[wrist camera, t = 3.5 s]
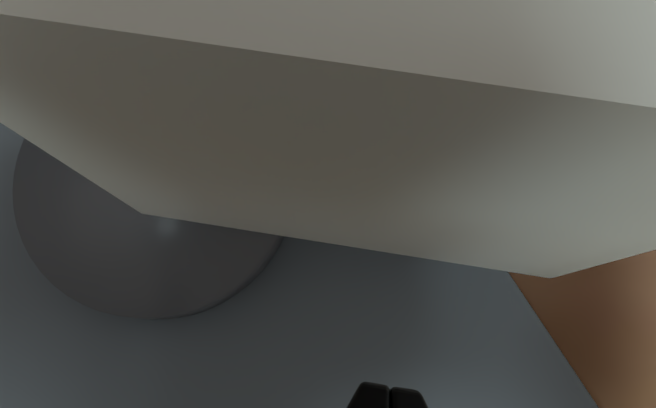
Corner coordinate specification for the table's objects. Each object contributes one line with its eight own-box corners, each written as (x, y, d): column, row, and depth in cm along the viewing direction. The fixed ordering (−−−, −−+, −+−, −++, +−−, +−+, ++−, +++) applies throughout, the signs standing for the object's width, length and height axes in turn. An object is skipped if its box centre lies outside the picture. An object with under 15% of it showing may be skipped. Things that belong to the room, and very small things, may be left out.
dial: (5, 296, 15) (-748, 200, 5) (74, 52, 17) (-373, -434, 6) (524, 382, 14) (1026, 499, 4) (546, 121, 16) (949, -291, 6)
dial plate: (637, 487, 15) (661, 498, 14) (39, 900, 13) (12, 950, 12) (298, -25, 19) (296, -47, 17) (-212, 247, 17) (-250, 240, 16)
